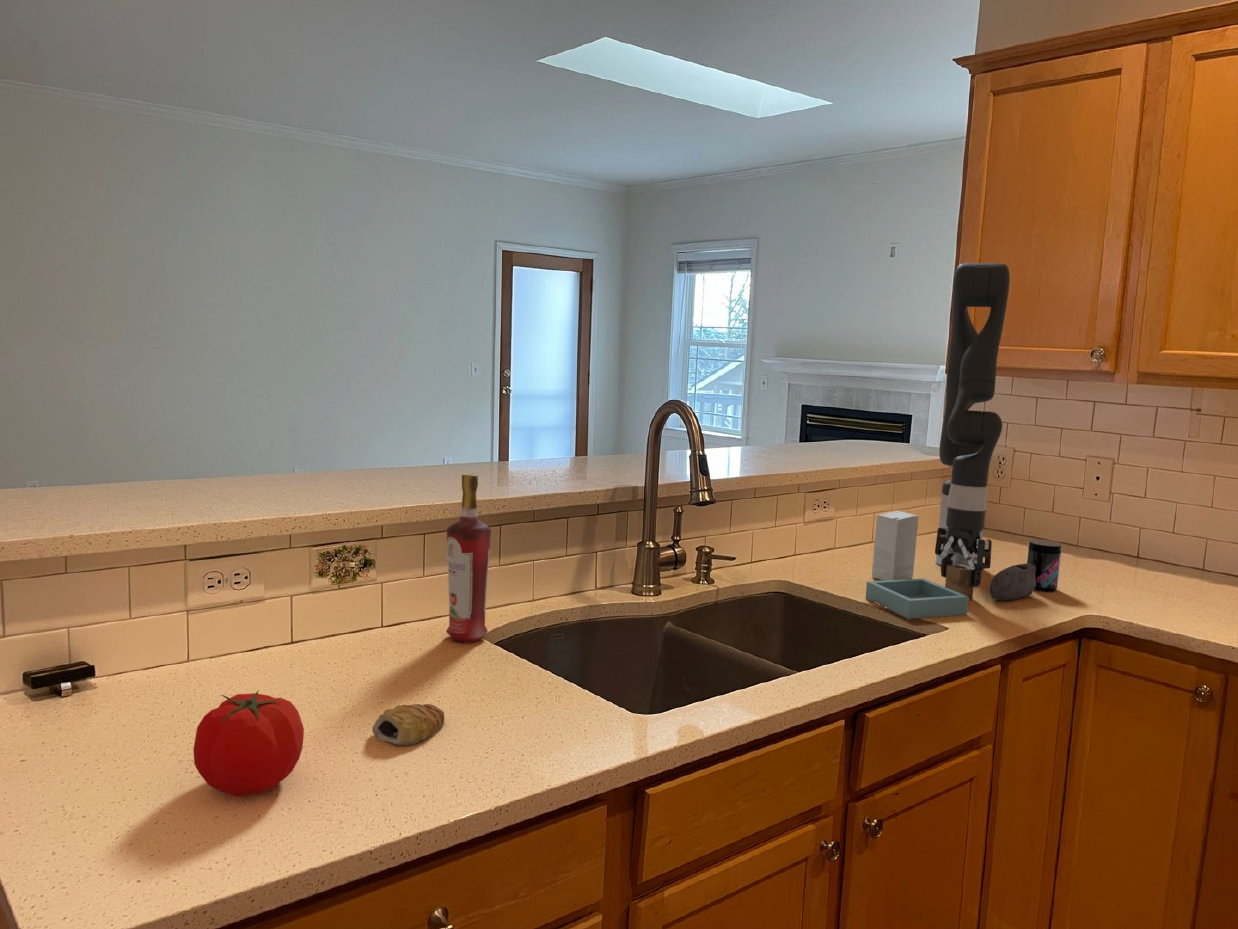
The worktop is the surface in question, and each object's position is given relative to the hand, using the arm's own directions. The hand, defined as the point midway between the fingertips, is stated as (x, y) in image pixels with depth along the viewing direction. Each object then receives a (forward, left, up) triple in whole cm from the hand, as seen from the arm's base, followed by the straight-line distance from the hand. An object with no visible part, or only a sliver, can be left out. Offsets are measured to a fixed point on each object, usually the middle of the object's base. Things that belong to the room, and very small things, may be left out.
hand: (959, 581), depth 192 cm
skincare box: (+5, -16, -4) cm, 17 cm away
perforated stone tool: (-11, +3, -4) cm, 12 cm away
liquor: (+105, +4, -4) cm, 105 cm away
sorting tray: (+14, +4, -3) cm, 15 cm away
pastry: (+118, +38, -4) cm, 124 cm away
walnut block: (0, 0, -3) cm, 3 cm away
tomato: (+137, +48, -4) cm, 145 cm away
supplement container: (-24, -2, -4) cm, 25 cm away
